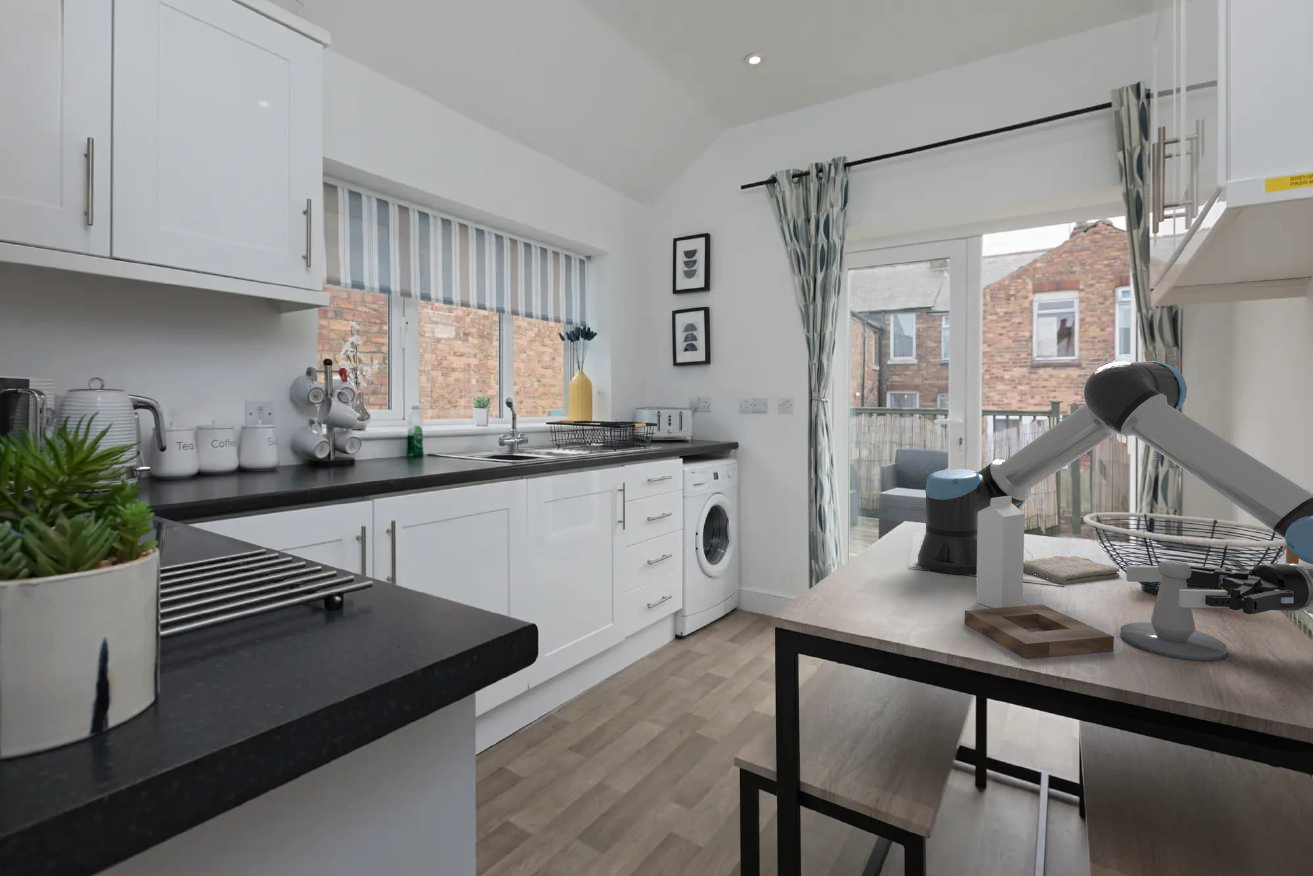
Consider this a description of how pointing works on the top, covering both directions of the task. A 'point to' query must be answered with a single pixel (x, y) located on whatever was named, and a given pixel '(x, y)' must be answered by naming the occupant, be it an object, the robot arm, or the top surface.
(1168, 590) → the salt shaker
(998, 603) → the milk
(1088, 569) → the washcloth
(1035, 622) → the socket block
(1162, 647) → the coaster
